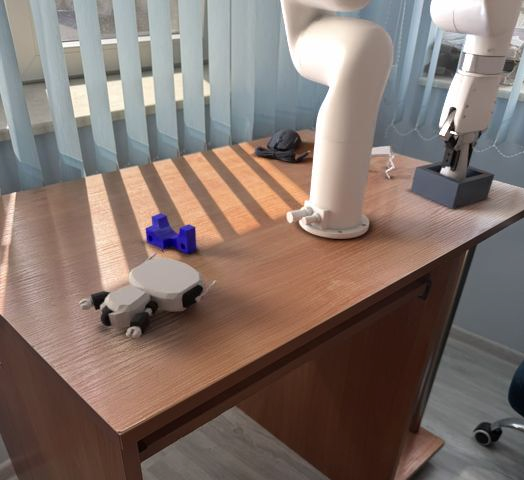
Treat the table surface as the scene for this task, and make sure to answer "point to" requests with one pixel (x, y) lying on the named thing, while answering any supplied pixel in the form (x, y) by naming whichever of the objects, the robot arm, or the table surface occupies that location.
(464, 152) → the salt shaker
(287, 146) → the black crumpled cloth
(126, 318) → the robot toy
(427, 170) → the holder
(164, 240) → the cable holder
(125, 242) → the table surface
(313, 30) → the robot arm
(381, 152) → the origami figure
